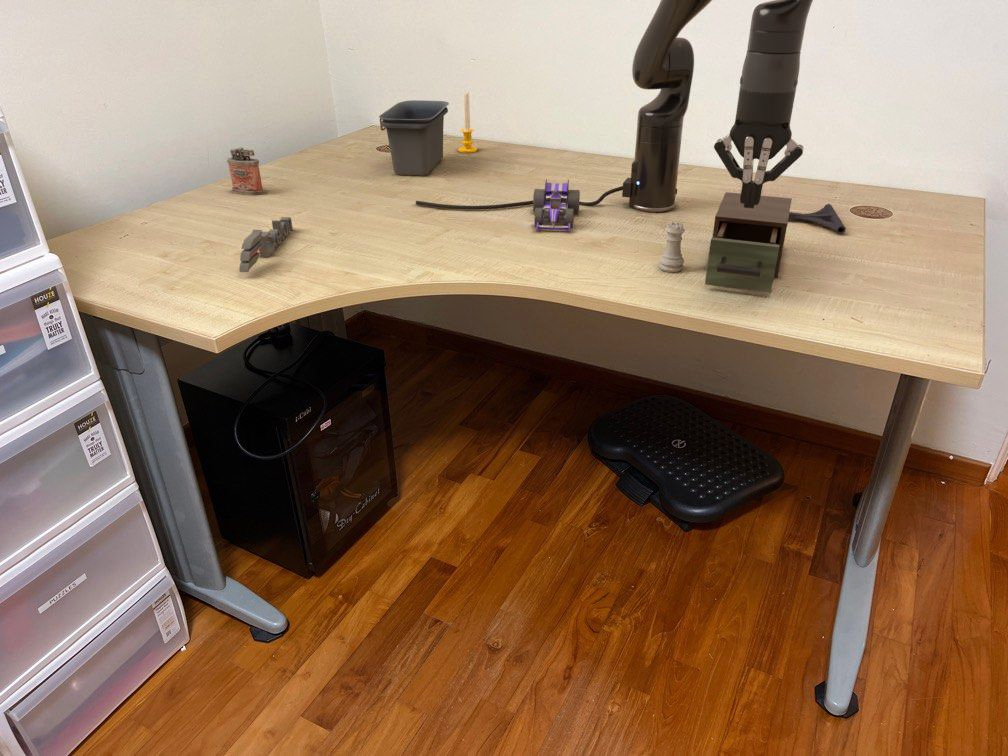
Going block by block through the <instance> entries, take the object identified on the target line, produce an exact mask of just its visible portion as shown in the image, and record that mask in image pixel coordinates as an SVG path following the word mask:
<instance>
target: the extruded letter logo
mask: <svg viewBox="0 0 1008 756" xmlns="http://www.w3.org/2000/svg"><path fill="white" fill-rule="evenodd" d="M271 224H272V228H271V229H269V230H268V231H263V230H262V229H252V231H251V233H250V234H248V236H247V237H245V238H244V239H243V242H242V245H241V250H242V251H241V252H240V259H239V261H240V264H239V273H249V272H250V270H251V268H252V267H253V266H254V265H255V264H256V263H257V262H258V260H259V257H260V258H270V257H271V255H272V254H274V252H275V251H276V249H277V248H279V246H278V245H281V244H282V241H284V240H285V238H287V237H288V235H289V234H291V231H293V230H294V227H293V221H292V217H290V216H282V217H280V219H272V220H271Z"/></svg>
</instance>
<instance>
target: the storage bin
mask: <svg viewBox="0 0 1008 756" xmlns="http://www.w3.org/2000/svg"><path fill="white" fill-rule="evenodd" d="M449 105H450V103H449V102H448V101H443V100H417V99H416V100H415V99H414V100H412V99H411V100H404V101H403V100H402V101H399V102H397V103H396V104H394V105H392V106H391V107H390V108H387V110H385V111H384V112H383V113H380V115H378V118H379V126H380V131H382V132H383V131H385V130H386V135H387V140H388V145H389V151H390V156H391V162H392V166H393V167H392V168H393V172H394V174H396V175H398V176H423V177H424V176H428V175H429V173H430V172H431V171H432V170H433V169H434V168H436V166H437V165H438V164H439V163H440V162H441V161H442V159H443V158H444V121H445V115H446V114H447V113H449V109H448V106H449Z"/></svg>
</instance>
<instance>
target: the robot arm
mask: <svg viewBox="0 0 1008 756" xmlns="http://www.w3.org/2000/svg"><path fill="white" fill-rule="evenodd" d="M712 1H713V0H660V2H659V4H658V6H657V8H656V10H655V12H654V14H653V16H652V18H651V20H650V22H649V23H648V25H647V27H646V29H645V31H644V33H643V35H642V37H641V39H640V41H639V43H638V45H637V48H636V49H635V52H634V56H633V59H632V64H631V65H632V67H631V75H632V76H631V77H632V80H633V82H634V84H635V85H636V86H637V87H638V88H639V89H642V90H647V91H648V90H650V91H651V90H652V91H653V90H659V93H658V94H657V95H656V96H655V97H654V98H653V99H652V100H651V101H650V102H647V103H646V104H644V105H643V106H641V107H639V110H638V111H637V123H636V124H637V125H636V134H635V135H636V137H635V151H634V160H633V161H632V162H631V169H630V170H631V171H630V177H627V178H626V179H625V180H624V181H623V182H622V186H621V185H620V186H617V187H615V188H611V189H609V190H607V191H605V192H604V193H602V194H601V196H599V198H597V199H596V200H595V201H590V202H586V201H580V200H579V206H584V207H594V206H597V205H599V204H601V202H603V200H604V199H605V198H607V196H609V195H611V194H614V193H617V192H621V191H622V192H621V197H622V198H628V208H633V209H636V210H639V211H643V212H650V213H651V212H652V213H662V212H668V211H670V210H671V211H672V210H673V209H675V208H676V196H677V195H678V188H677V187H678V185H677V184H678V176H679V167H680V157H681V147H682V140H683V139H682V137H683V127H684V118H685V116H686V113H687V111H688V108H689V103H690V96H691V90H692V84H693V78H694V70H695V54H694V53H695V52H694V47H693V45H692V43H691V41H690V40H689V39H687V38H685V37H681V36H680V37H678V36H679V34H680V33H681V32H682V30H684V28H685V27H686V26H687V25H688V24H689V23H690V22H691V21H692V20H693V19H695V17H697V16H698V15H699V14H700V13H702V11H703V10H704V9H705V8H706V7H708V5H710V3H712ZM813 1H814V0H769V1H764V2H761V3H759V4H757V5H756V6H755V8H754V9H753V11H752V16H751V20H750V29H749V35H748V41H747V50H746V54H745V58H744V62H743V64H742V71H741V76H740V79H739V91H738V98H737V105H736V111H735V119H734V123H733V125H732V126H731V128H730V130H729V134H727V135H725V136H723V137H722V138H719V139H717V140H716V141H715V143H714V145H713V149H714V150H715V152H716V154H717V156H718V157H719V159H720V160H721V162H722V163H723V165H724V167H725V168H726V170H727V172H728V173H729V175H730V177H731V178H733V179H738V180H740V181H741V183H742V184H741V191H740V194H741V197H740V202H741V203H742V204H744V208H753V209H754V205H758V204H759V202H760V198H761V195H762V191H763V187H764V184H765V183H768V182H774V181H776V180H777V179H778V178H779V177H780V176H781V175H782V174H783V173H784V172H785V171H786V170H788V169H789V168H790V167H791V166H792V165H793V164H794V163H795V162H796V161H797V160H799V158H801V157H802V156H803V153H804V146H803V145H802V144H799V143H798V142H796V141H795V140H794V139H793V138H792V137H793V136H792V135H793V132H792V130H791V120H792V114H793V108H794V103H795V98H796V94H797V93H796V92H797V88H798V87H797V86H798V83H799V77H800V76H799V75H800V69H801V68H800V67H801V54H802V53H801V51H802V47H803V42H804V35H805V30H806V24H807V20H808V16H809V13H810V10H811V7H812V4H813ZM732 143H733V144H734V146H735V148H736V150H737V152H738V154H739V155H740V156H741V157H742V158H743V163H742V167H741V166H740V164H739V163H738V161H737V159H736V158H735V156H734V155H733V153H732V149H733V144H732ZM785 146H786V148H785ZM784 148H785V149H784ZM782 149H784V156H783V158H782V159H780V160H779V161H778V162H777V163H776V164H775V165H774V166H773V167H772V168H771V169H769V170H767V167H768V163H769V161H770V160H772V159H774V158H775V156H777V154H779V153H780V152H781V150H782ZM755 160H758V163H757V166H756V167H757V168H756V172H755V176H754V177H753V175H754V174H753V173H754V164H755V163H754V162H755ZM753 178H754V179H753ZM546 198H547V200H550V198H551V197H546ZM561 199H562V200H563V201H566V199H567V197H561ZM567 201H568V199H567ZM415 205H416V206H417V205H418V206H424V207H429V208H430V207H431V208H437V209H447V210H465V211H466V210H468V211H470V210H471V211H473V210H474V211H475V210H477V211H481V210H497V209H506V208H514V207H515V208H516V207H523V206H531V205H532V206H533V199H531V200H525V201H517V202H509V203H501V204H488V205H487V204H486V205H485V204H484V205H463V204H460V205H459V204H446V203H445V204H444V203H436V202H428V201H424V200H423V201H422V200H415Z"/></svg>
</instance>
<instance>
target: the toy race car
mask: <svg viewBox="0 0 1008 756" xmlns="http://www.w3.org/2000/svg"><path fill="white" fill-rule="evenodd" d="M569 183H570V180H569V179H567V182H563V183H561V182H559V183H557V182H548V179H547V178H546V179H545V182H544V188H535V189H534V190H533V194H532V195H533V196H532V200H533V204H532V210H533V213H534V217H533V218H534V219H533V220H534V227H535V228H536V230H535V231H536V232H539V231H567V233H571V228H574V220H575V219H574V218H575V217H574V215H575V214H580V205H579V201H580V196H581V195H580V194H581V191H580V189H569V188H570V187H569V186H570V185H569ZM548 197H549V198H550V200H547V198H548ZM562 197H566V198H567V199H568V201H567V199H566V201H563V200H562V199H561V198H562ZM544 224H552V225H544ZM556 224H564V225H556Z"/></svg>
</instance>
